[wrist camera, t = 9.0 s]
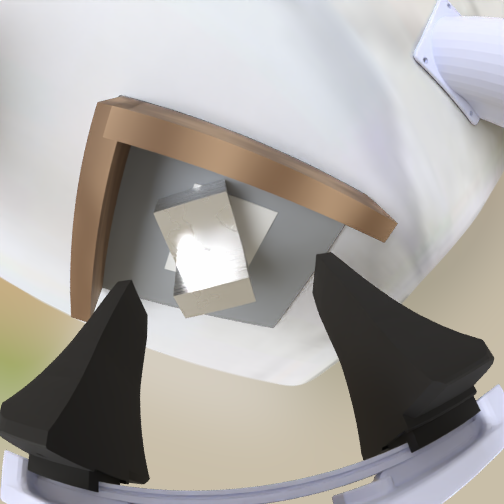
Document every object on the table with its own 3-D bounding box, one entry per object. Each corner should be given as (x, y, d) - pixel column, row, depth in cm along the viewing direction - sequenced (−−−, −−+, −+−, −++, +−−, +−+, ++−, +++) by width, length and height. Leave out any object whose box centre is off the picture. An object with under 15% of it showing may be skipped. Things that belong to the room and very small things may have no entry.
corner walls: (366, 195, 20) (397, 223, 16) (277, 325, 27) (287, 362, 23) (123, 96, 13) (97, 102, 10) (86, 278, 20) (71, 316, 17)
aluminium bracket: (245, 253, 21) (255, 301, 17) (187, 268, 21) (185, 318, 17) (224, 179, 17) (230, 215, 13) (158, 199, 17) (144, 240, 13)
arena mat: (361, 192, 20) (364, 194, 19) (272, 324, 27) (273, 328, 26) (121, 95, 13) (118, 95, 13) (84, 278, 20) (83, 282, 20)
